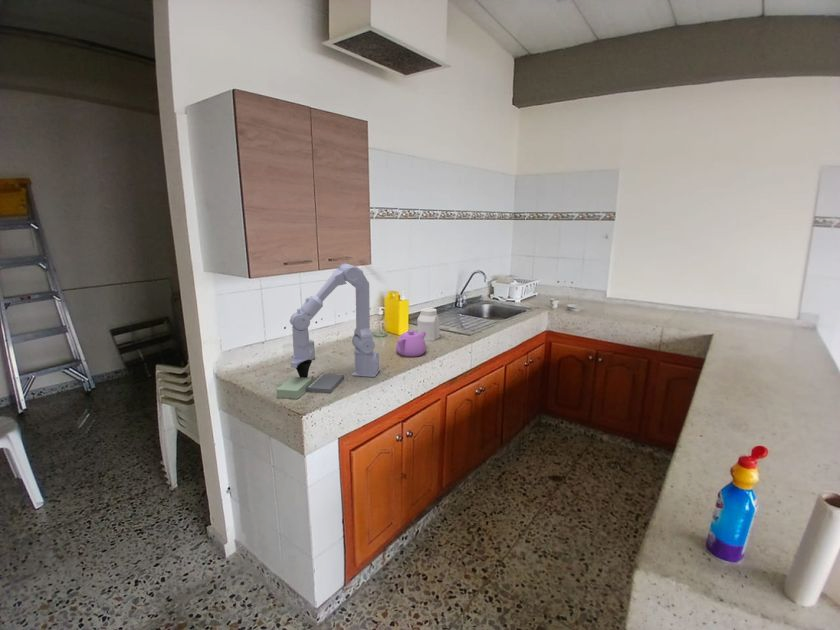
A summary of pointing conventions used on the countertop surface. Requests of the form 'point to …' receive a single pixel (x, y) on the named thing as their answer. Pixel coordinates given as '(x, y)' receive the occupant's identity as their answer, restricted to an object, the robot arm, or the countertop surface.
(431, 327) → the jar
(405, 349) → the teapot
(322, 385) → the ticket body
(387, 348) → the countertop surface
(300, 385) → the thick sage green slab
